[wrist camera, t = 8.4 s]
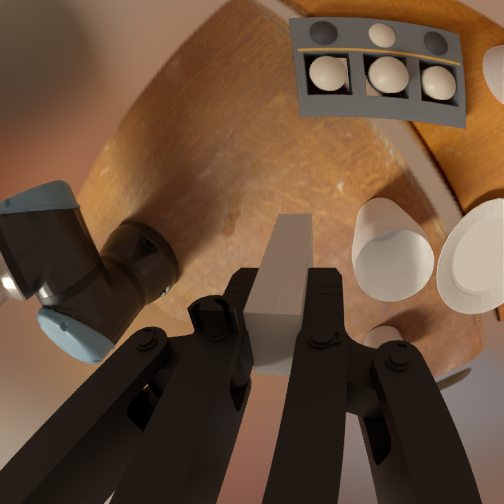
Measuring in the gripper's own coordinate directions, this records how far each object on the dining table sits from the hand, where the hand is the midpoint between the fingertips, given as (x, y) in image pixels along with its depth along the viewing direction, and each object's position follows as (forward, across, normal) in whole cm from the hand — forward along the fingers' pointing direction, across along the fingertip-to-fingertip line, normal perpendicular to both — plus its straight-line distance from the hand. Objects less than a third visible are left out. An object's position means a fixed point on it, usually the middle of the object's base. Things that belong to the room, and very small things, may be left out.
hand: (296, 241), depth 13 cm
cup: (+25, +9, -10) cm, 28 cm away
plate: (+24, +29, -15) cm, 41 cm away
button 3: (+24, +16, +9) cm, 30 cm away
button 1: (+24, +3, +10) cm, 26 cm away
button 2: (+22, +9, +9) cm, 26 cm away
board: (+24, +9, +10) cm, 28 cm away
